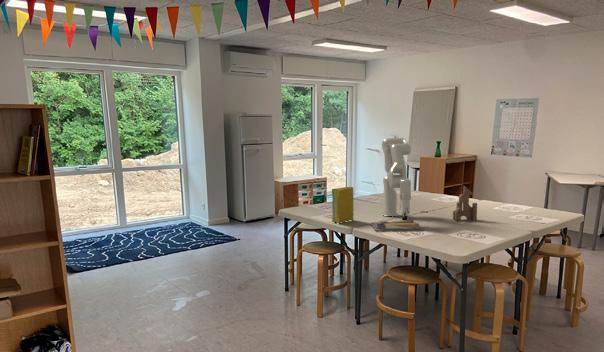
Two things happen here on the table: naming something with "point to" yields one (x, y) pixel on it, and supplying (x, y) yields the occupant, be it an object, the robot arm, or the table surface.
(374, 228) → the mat
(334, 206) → the book
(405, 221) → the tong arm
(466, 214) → the wooden toy
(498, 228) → the table surface
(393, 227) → the tongs fixed
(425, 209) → the table surface
